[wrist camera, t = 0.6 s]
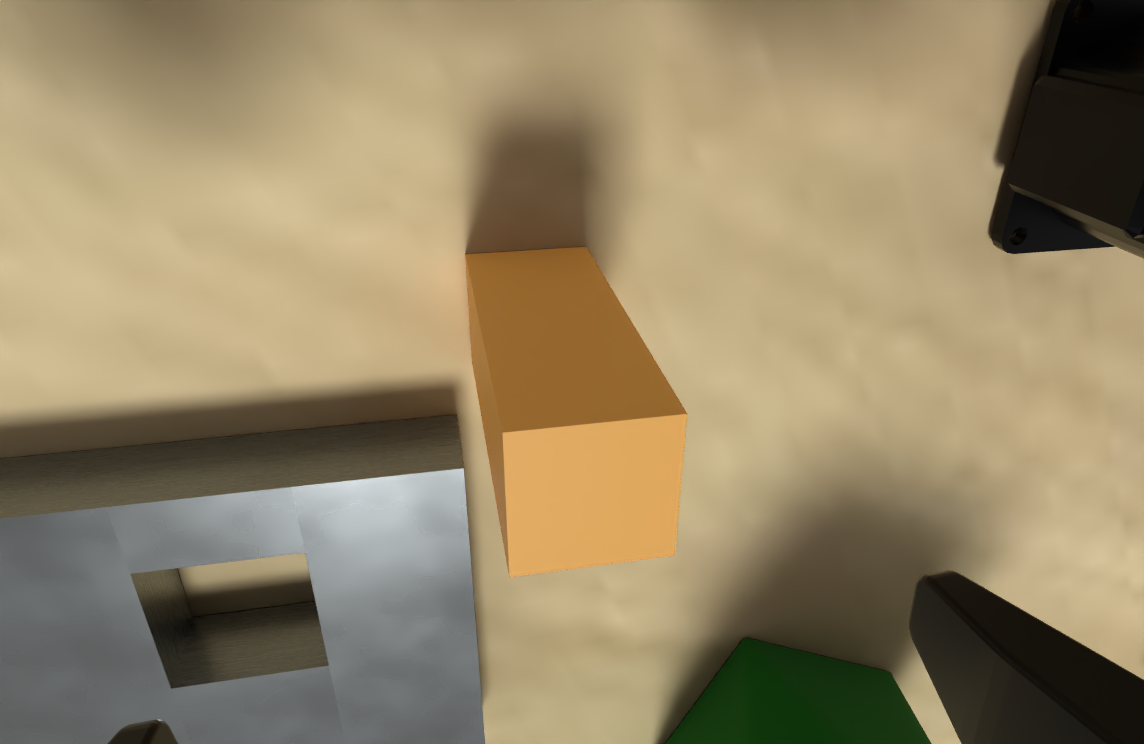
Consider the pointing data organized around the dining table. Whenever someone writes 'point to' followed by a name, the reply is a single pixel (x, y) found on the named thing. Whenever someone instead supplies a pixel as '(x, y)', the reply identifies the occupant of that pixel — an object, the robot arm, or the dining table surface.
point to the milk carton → (798, 702)
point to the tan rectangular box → (571, 414)
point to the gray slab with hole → (254, 637)
